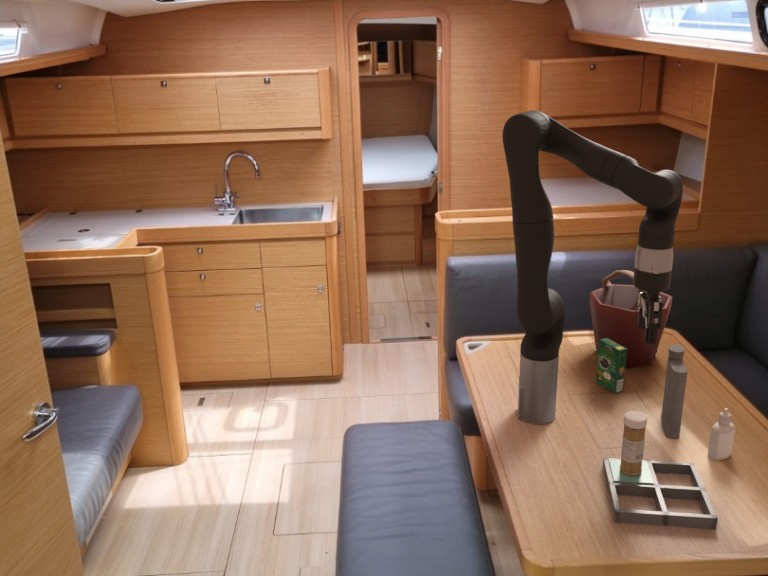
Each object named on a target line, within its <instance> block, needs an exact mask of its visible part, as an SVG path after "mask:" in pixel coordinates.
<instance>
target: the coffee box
mask: <svg viewBox="0 0 768 576" xmlns="http://www.w3.org/2000/svg"><path fill="white" fill-rule="evenodd" d="M626 356H627V348H625V347H623V346H621V345H619V344H617V343H615V342H614V341H612V340H610V339H608V338H604V339H600V341H599V352H598V353H597V363H596V373H595V383H596V384H598V385H599V386H601V387H603V388H605V389H607V390H608V391H610V393H613V394H615V395H618V394H620V393H623V391H624V390H623V387H624V382H625V381H624V379H625V373H626V372H625V371H626V368H625V364H626Z"/></svg>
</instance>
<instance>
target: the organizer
mask: <svg viewBox="0 0 768 576" xmlns="http://www.w3.org/2000/svg"><path fill="white" fill-rule="evenodd" d="M602 459H603V460H602V471H603V474H604V475H603V476H604V481H605V484H606V489H607V494H608V497H609V501H610V506H611V511H612V516H613V521H614V523H621V524H624V523H625V524H637V525H650V526H651V525H653V526H664V527H665V526H667V527H681V528H694V529H695V528H696V529H709V530H716V529H717V527H718V526H717V525H718V519H719V518H718V516H717V512H716V511H715V509H714V507H713V504H712V502H711V499H710V497H709V495H708V492H707V490H706V488H705V486H704V484H703V480H702V478H701V476H700V475H699V474H700V473H699V471H698V470H697V467H696V465H695V462H686V461H684V462H683V461H666V460H650V459H648V460H647V459H643V460H642V467H641V469H642V472H641V474H639V475H637V476H630V475H626V474H624V473H623V472H622V471H621V470H620V465H621V458H616V457H615V458H613V457H603V458H602ZM656 474H664V475H665V474H667V475H681V476H683V475H685V476H689V479H690V482H691V484H692V486H685V485H684V486H683V485H671V484H670V485H669V484H659V481H658V478H657V476H656ZM618 496H627V497H640V498H642V497H643V498H653V501H654V503H655V506H656V510H644V509H629V508H627V509H626V508H621V506H620V502H619V498H618ZM665 499H671V500H672V499H673V500H686V501H687V500H688V501H689V500H691V501H699V504H700V507H701V509H702V510H703V513H692V512H691V513H690V512H689V513H687V512H673V511H668V509H667V508H668V507H667V505H666V502H665Z"/></svg>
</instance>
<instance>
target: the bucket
mask: <svg viewBox="0 0 768 576" xmlns="http://www.w3.org/2000/svg"><path fill="white" fill-rule="evenodd" d="M621 275H624V276H627V277H629V278H630V279H632V280H633V277H634V271H632V270H627V269H622V270H614V271H613V272H612V273H610V274H608V275H606V276H605V277H604V278H602V280H601V285H602V287H600V288H597V289H594V290H591V291H590V292H589V308H590V315H591V322H592V328H593V330H592V331H593V336H594V337H593V338H594V344H595V351H596V352H597V353H596V354H598V352H599V341H600V339H604V338H608V339H610V340H612V341H614V342H615V343H617V344H619V345H621V346H623V347H625V348H627V356H626V364H625V369H626V370H627V369H634V368H635V369H636V368H644V367H645V368H646V367H652V365H653V364H654V360H655V357H656V355H657V352H658V349H659V346H660V342H661V340H662V337H663V333H664V330H665V328H666V325H667V324H666V323H667V321H668V317H669V314H670V311H671V308H672V304H673V296H672V295H671V294H667V293H664V291H661V292H660V293H659V297H661V302H663V309H662V320H661V329H657V335H656V343H655V344H654V345H652V344H645V342H644V340H645V330H646V329H641V328H638V316H639V312H638V306H637V298H638V288H636V287H635V286H634V285H633V284H619V283H618V284H616V283H612V282H611V281H610V280H615V279H616V278H619V277H620V276H621ZM651 323H655V319H654V318H653V319H652V321H651Z"/></svg>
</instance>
